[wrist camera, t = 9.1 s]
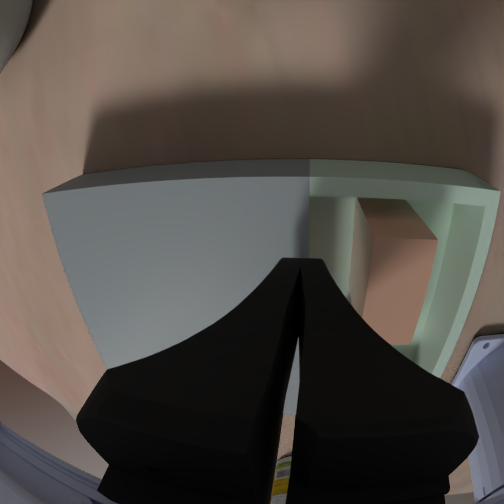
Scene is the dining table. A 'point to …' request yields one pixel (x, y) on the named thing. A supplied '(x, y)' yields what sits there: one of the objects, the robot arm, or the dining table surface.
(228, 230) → the slate board
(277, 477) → the supplement bottle
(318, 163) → the tray
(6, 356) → the dining table surface
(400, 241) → the tile
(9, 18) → the teacup
